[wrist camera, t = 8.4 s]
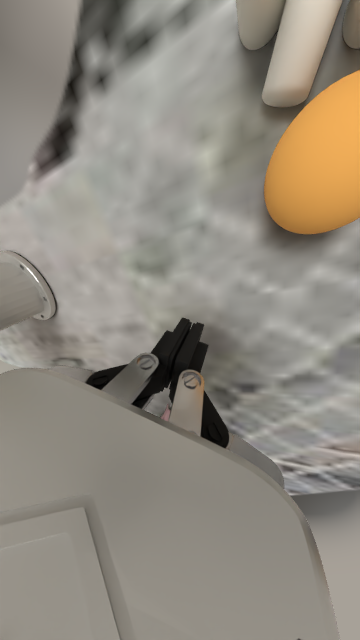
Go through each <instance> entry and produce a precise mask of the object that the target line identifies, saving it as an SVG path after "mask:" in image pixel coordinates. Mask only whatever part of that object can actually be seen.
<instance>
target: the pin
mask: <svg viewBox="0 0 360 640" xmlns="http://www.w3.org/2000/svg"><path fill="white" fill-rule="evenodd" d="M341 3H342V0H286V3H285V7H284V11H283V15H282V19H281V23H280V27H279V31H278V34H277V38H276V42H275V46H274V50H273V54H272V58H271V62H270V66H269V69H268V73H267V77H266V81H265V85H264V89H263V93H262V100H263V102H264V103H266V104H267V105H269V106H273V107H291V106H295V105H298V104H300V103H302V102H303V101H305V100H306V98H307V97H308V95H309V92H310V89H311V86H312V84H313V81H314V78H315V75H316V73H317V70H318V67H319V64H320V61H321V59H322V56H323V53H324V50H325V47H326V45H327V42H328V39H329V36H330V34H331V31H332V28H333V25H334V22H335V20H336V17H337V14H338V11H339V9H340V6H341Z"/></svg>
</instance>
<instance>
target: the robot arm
mask: <svg viewBox="0 0 360 640" xmlns="http://www.w3.org/2000/svg"><path fill="white" fill-rule="evenodd" d="M55 309H56V306H55V301H54V297H53V295H52V293H51V290H50V288H49V287H48V285H47V283H46V282H45V280H44V279H43V277H42V276H41V275H40V274H39V272H38V271H37V270H36V269H35V268H34V267H33V266H32V265H31V264H30V263H29V262H28V261H27V260H25V259H24V258H23V257H21V256H20V255H18V254H16V253H14V252H11V251H0V331H1V330H4V329H6V328H8V327H10V326H12V325H15V324H17V323H19V322H21V321H23V320H26V319H28V318H30V317H34V318H36V319H39V320H47V319H49V318H51V317H52V316H53V315H54V314H55ZM189 321H190V320H189V319H186V318H182V319H181V320H180V322H179V323H178V325H177V327H176V328H175V330H174V331H173V332H170V331H168V330H167V331H166V332H165V333H164V335H163V336H162V338H161V339H160V341H159V342H158V343H157V345H156V346H155V348H154V349H153V350H152V352H151V353H142V354H140V355H138V356H137V357H136V358H135V359H134V360H133V361H132V362H130V363H129V364H126V365H122V366H118V367H114V368H110V369H105V370H101V371H98V372H95V373H93V372H92V371H91V370H86V369H80V368H74V367H69V366H63V365H58V366H54V367H52V368H50V369H40V368H20V369H14V370H11V371H7V372H5V373H2V374H0V640H340V636H339V632H338V627H337V622H336V618H335V613H334V609H333V605H332V601H331V597H330V593H329V588H328V585H327V580H326V576H325V572H324V569H323V565H322V561H321V558H320V555H319V551H318V548H317V545H316V542H315V539H314V537H313V534H312V531H311V529H310V526H309V524H308V522H307V520H306V518H305V516H304V514H303V513H302V511H301V510H300V508H299V507H298V506H297V504H296V503H295V502H294V501H293V499H292V498H291V497H290V496H289V495H288V493H287V492H286V491H285V490H284V478H283V476H282V473H281V471H280V469H279V468H278V466H277V465H276V464H275V463H274V462H273V461H272V460H271V459H269V458H268V457H267V456H265V455H264V454H262V453H261V452H260V451H258V450H257V449H255V448H254V447H253V446H251V445H250V444H248V443H247V442H246V441H244V440H243V439H241V438H240V437H239V436H237V435H236V434H235V435H233V434H231V433H230V432H229V431H228V430H227V427H226V426H225V424H224V422H223V421H222V419H221V417H220V416H219V414H218V412H217V411H216V409H215V407H214V406H213V404H212V402H211V401H210V399H209V397H208V396H207V394H206V393H205V391H204V379H203V377H202V375H201V374H200V372H201V368H202V365H203V362H204V358H205V355H206V352H207V348H208V345H207V344H204V343H202V342H199V340H200V337H201V334H202V330H203V327H204V324H201V323H198V322H197V323H196V324H195V323H193V325H192V327H191V324H192V322H189ZM190 328H191V329H190ZM170 381H171V384H170ZM169 384H170V388H169V389H170V394H169V397H170V400H171V402H172V408H171V412H170V416H169V421H166V420H164V419H162V418H159V417H157V416H155V415H153V414H151V413H149V412H146V411H144V409H145V408H146V407H147V405H148V404H149V402H150V401H151V400H152V398H153V397H154V395H155V394H156V393H159V392H160V391H162V392H163V390H164V388H168V386H169Z"/></svg>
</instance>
